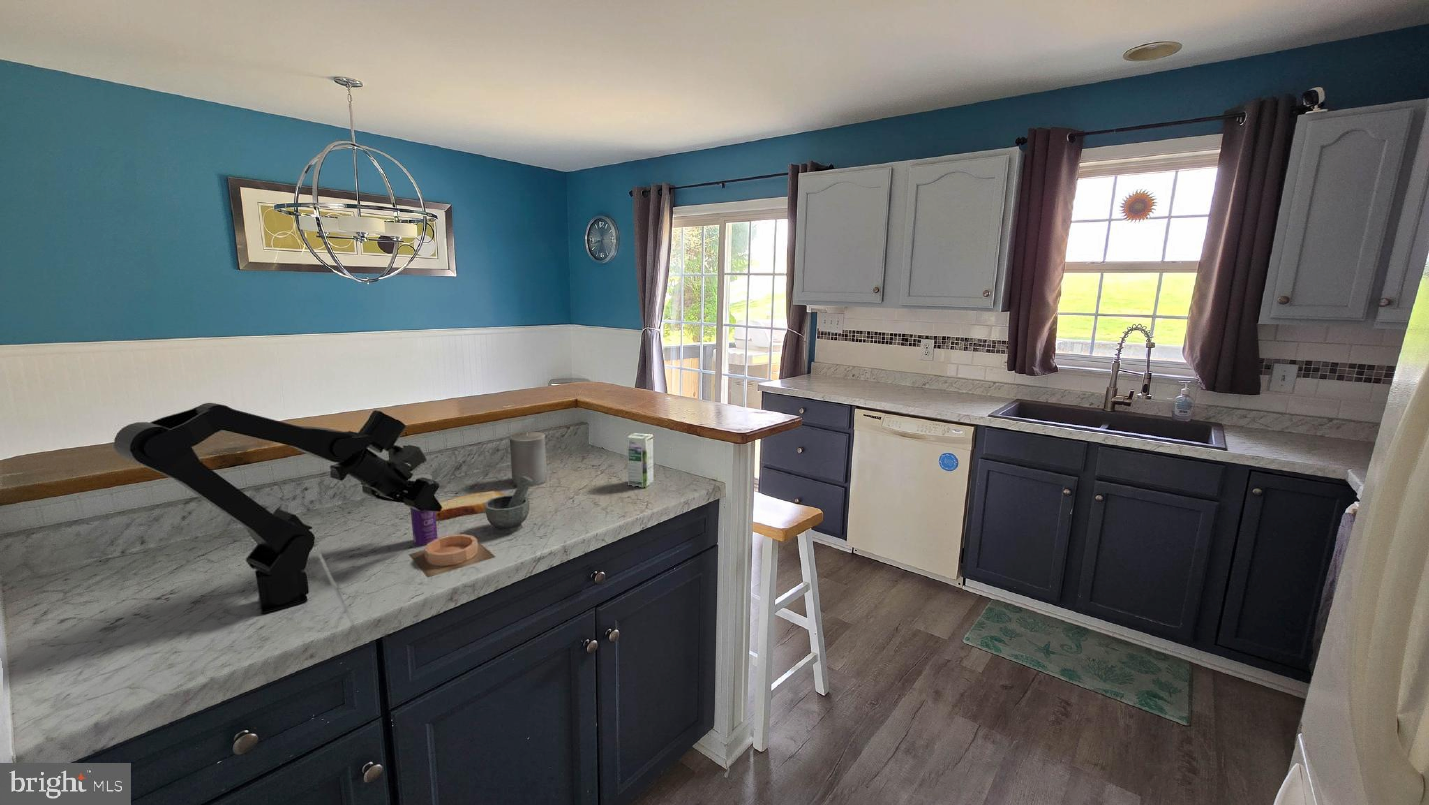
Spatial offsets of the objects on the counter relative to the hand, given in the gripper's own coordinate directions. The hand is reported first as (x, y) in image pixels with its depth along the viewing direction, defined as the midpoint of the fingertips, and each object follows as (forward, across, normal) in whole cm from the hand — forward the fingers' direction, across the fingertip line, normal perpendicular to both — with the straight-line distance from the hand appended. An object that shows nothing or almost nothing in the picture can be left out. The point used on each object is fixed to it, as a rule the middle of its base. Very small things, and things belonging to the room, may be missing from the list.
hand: (428, 505), depth 124 cm
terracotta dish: (+3, -11, +8) cm, 14 cm away
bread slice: (+18, +8, -5) cm, 20 cm away
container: (+5, 0, +7) cm, 8 cm away
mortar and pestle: (+15, -10, -3) cm, 19 cm away
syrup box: (+44, -17, -32) cm, 57 cm away
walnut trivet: (+4, -11, +8) cm, 14 cm away
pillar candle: (+34, +12, -22) cm, 43 cm away
